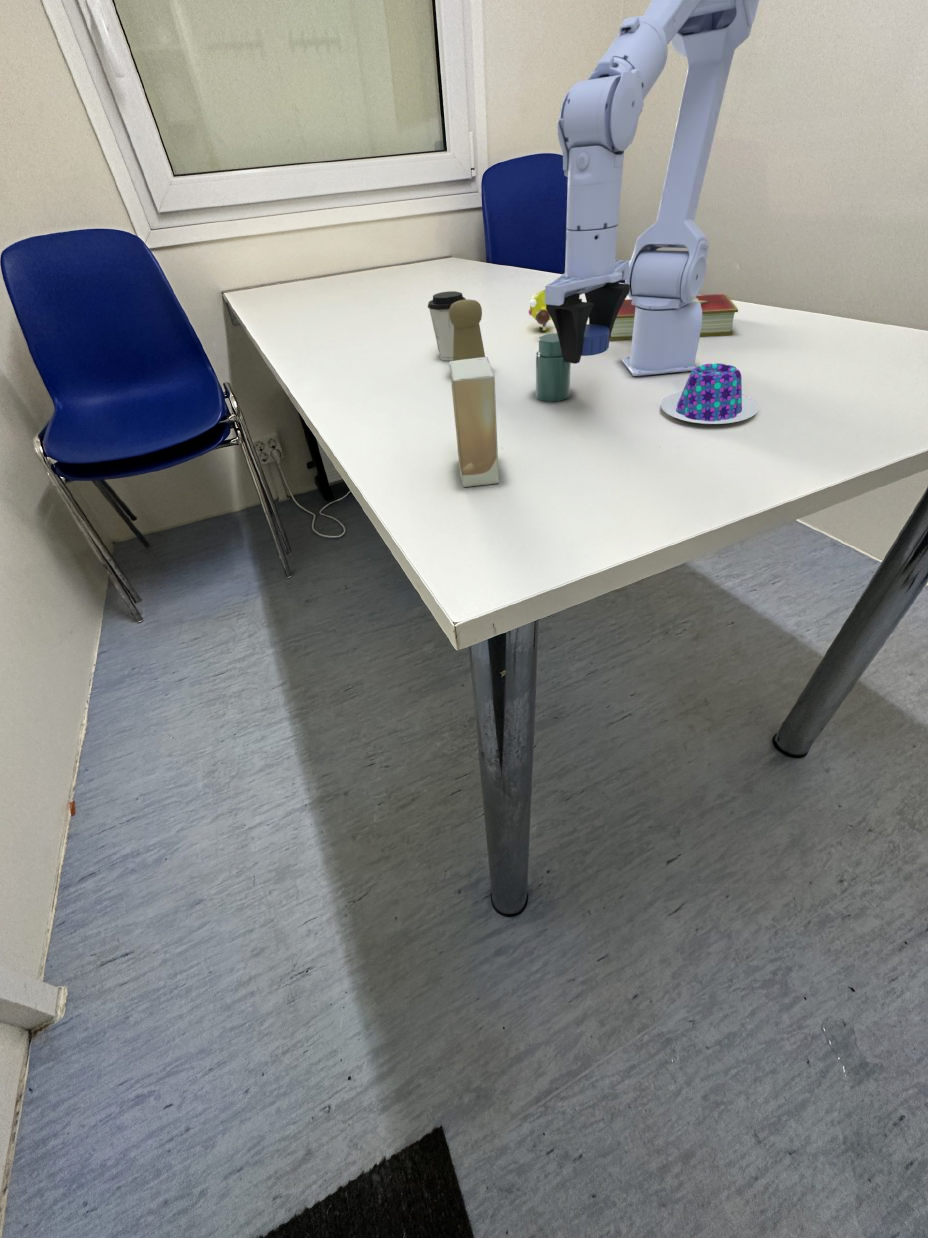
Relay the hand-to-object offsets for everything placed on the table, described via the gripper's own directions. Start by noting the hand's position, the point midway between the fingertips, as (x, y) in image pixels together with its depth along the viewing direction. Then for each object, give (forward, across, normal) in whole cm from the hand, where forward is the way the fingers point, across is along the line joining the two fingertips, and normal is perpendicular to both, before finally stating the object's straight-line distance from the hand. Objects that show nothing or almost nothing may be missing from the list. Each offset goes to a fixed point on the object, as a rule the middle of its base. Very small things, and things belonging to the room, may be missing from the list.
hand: (584, 355), depth 70 cm
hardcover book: (+8, +41, +10) cm, 43 cm away
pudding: (+8, +9, -14) cm, 18 cm away
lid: (-3, 0, 0) cm, 3 cm away
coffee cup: (+8, +10, +35) cm, 37 cm away
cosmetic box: (+8, -21, 0) cm, 23 cm away
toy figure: (+8, +30, +30) cm, 44 cm away
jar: (+8, +4, +8) cm, 11 cm away
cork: (+8, +4, +25) cm, 27 cm away
